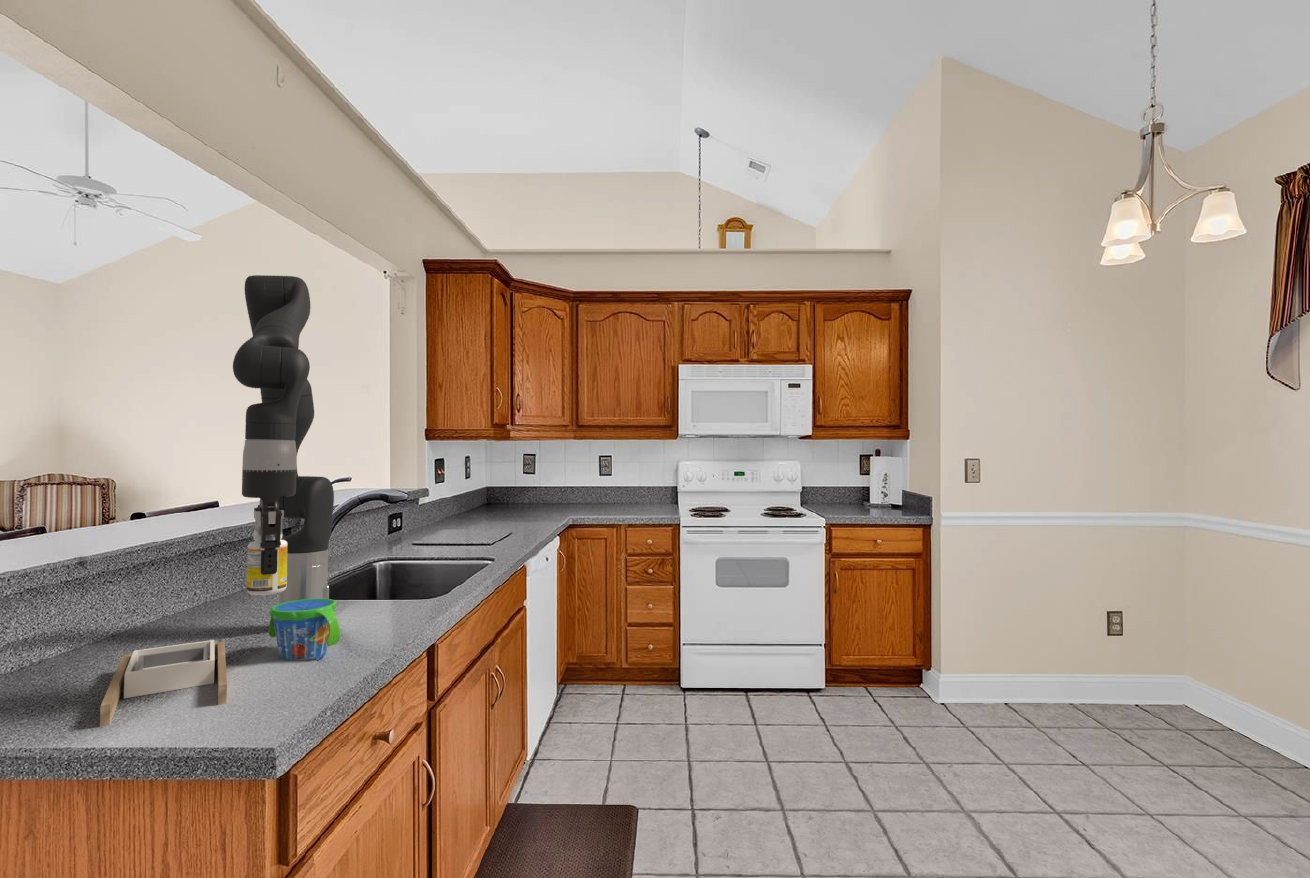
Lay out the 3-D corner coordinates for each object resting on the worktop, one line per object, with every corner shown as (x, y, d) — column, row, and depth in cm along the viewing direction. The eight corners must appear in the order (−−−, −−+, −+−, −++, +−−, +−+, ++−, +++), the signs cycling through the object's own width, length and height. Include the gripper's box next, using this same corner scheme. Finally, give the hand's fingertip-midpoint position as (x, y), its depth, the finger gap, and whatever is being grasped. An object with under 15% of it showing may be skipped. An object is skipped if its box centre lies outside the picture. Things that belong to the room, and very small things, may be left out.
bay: (223, 663, 111) (224, 641, 111) (226, 711, 91) (227, 684, 91) (122, 679, 103) (122, 655, 103) (99, 735, 82) (100, 705, 82)
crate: (213, 660, 109) (214, 639, 109) (213, 683, 98) (214, 660, 98) (133, 672, 102) (133, 650, 102) (123, 698, 92) (124, 673, 92)
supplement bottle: (279, 586, 104) (280, 526, 104) (291, 592, 100) (293, 529, 100) (241, 592, 99) (242, 529, 100) (252, 598, 96) (254, 532, 96)
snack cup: (248, 660, 113) (250, 605, 113) (303, 645, 122) (305, 594, 122) (301, 675, 106) (303, 616, 106) (355, 657, 115) (357, 603, 115)
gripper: (301, 468, 97) (298, 576, 96) (291, 466, 108) (289, 561, 108) (244, 469, 92) (241, 581, 92) (240, 466, 104) (238, 566, 103)
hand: (267, 570), depth 100 cm, fingers closed on supplement bottle, 5 cm apart
